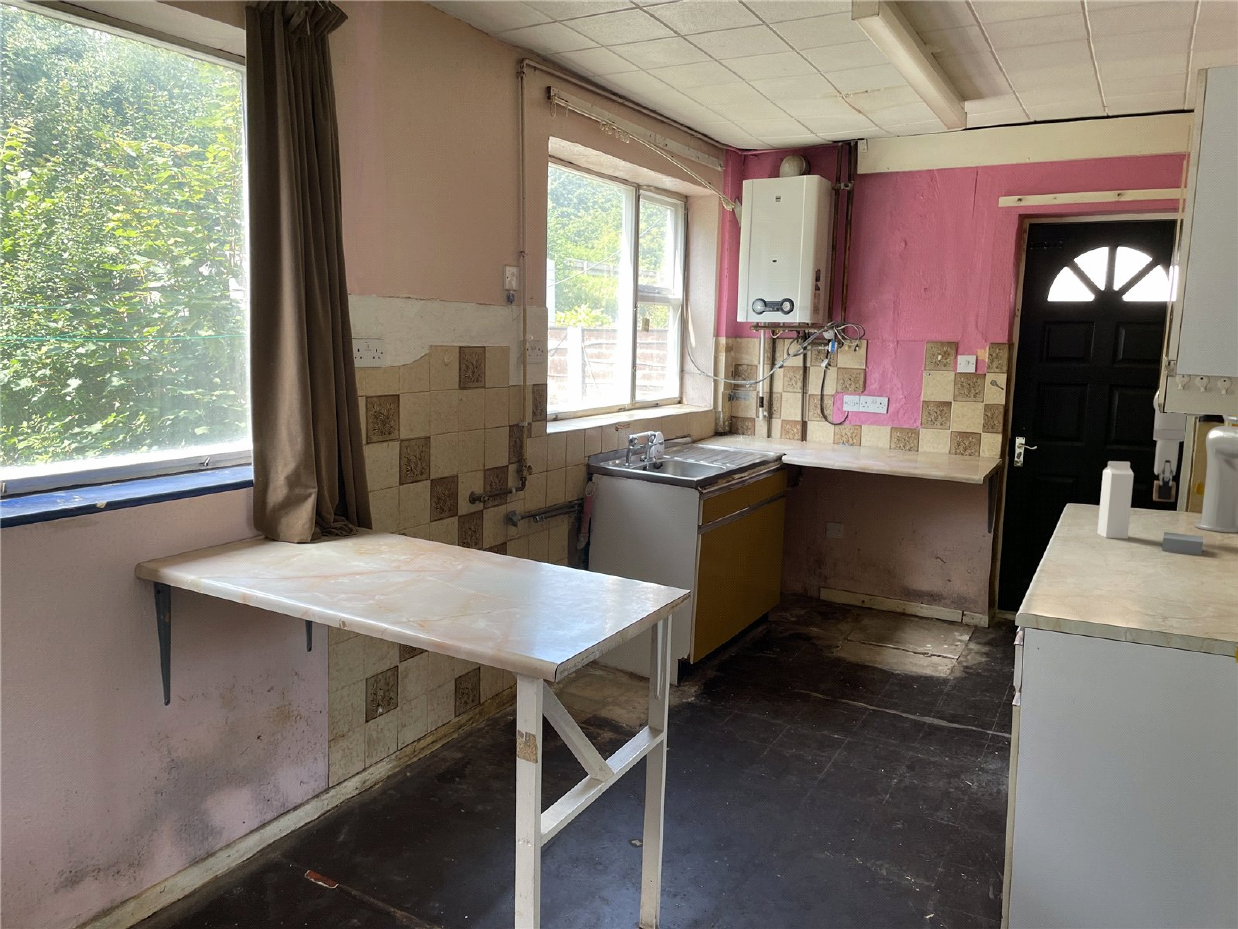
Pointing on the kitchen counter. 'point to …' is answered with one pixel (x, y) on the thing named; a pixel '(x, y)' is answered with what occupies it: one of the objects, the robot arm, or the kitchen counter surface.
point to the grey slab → (1182, 543)
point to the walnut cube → (1155, 495)
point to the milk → (1115, 500)
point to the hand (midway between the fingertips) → (1163, 497)
